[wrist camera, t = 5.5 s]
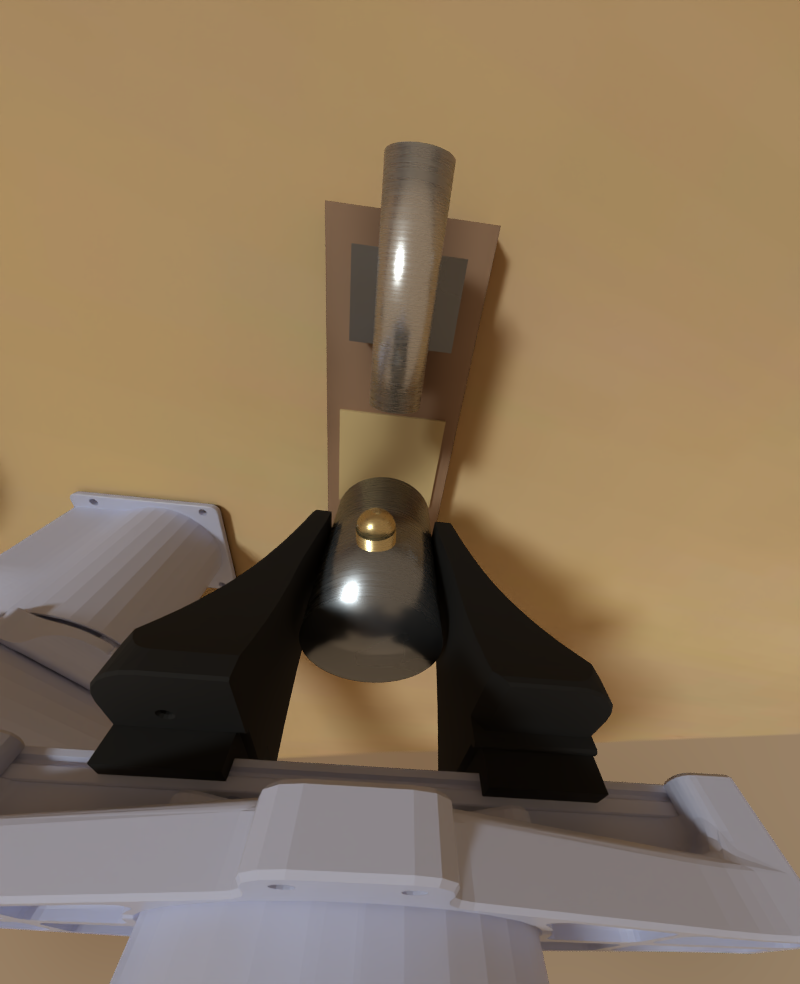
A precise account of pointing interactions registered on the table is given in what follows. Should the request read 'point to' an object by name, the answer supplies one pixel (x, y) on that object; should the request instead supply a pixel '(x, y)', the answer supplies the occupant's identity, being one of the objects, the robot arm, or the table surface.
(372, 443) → the shaft board
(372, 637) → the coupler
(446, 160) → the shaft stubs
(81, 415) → the table surface
